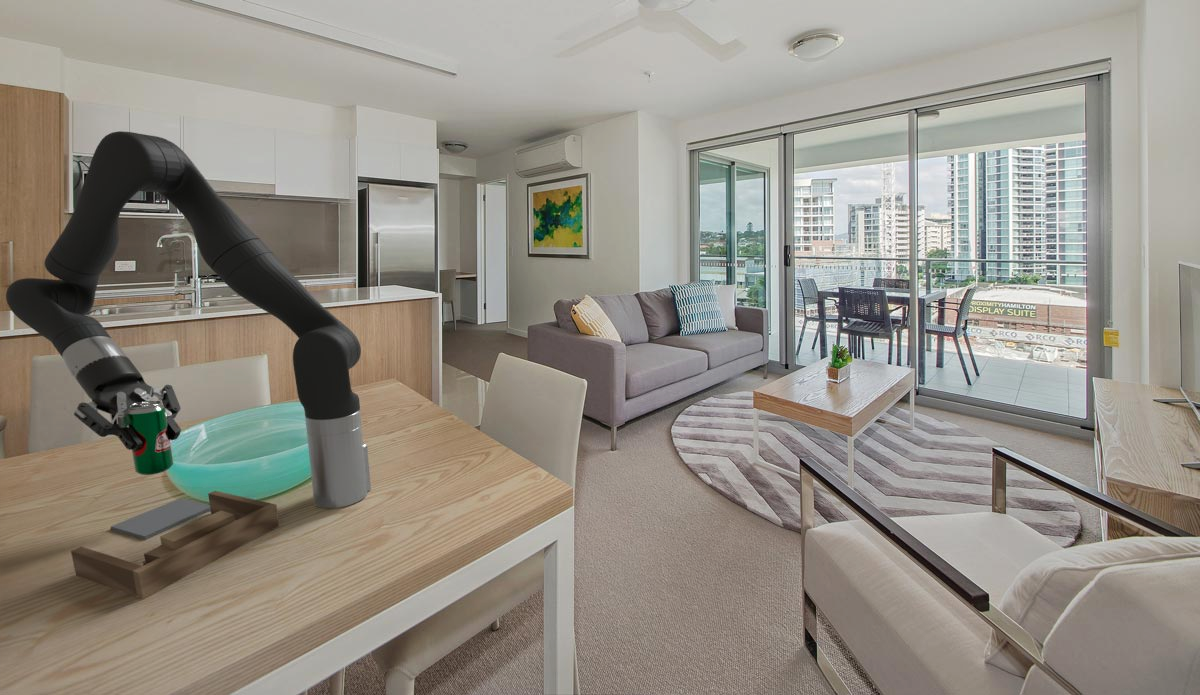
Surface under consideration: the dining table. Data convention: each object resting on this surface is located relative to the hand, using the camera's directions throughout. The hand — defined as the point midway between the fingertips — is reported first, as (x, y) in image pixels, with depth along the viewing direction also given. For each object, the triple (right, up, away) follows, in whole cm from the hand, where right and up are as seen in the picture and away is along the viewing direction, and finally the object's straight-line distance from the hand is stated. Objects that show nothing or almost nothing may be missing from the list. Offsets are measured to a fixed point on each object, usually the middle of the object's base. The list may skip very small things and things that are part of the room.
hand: (157, 442), depth 88 cm
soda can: (-2, -5, +2) cm, 6 cm away
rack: (+9, -16, -6) cm, 19 cm away
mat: (-2, -14, +3) cm, 15 cm away
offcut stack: (+12, -16, -7) cm, 21 cm away
